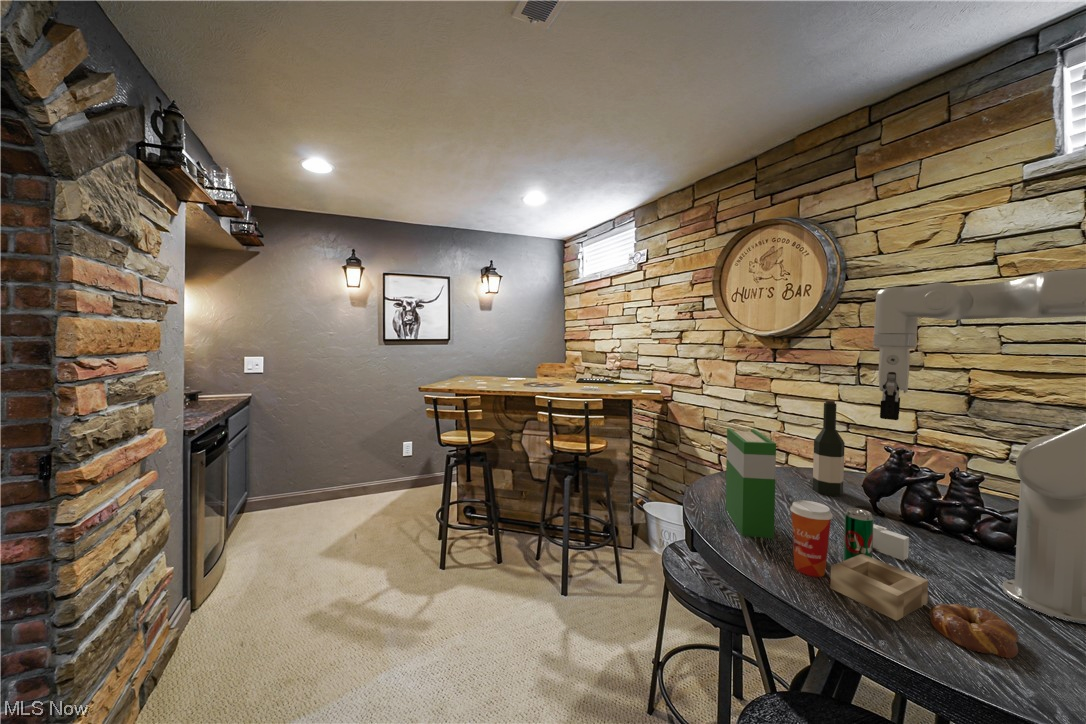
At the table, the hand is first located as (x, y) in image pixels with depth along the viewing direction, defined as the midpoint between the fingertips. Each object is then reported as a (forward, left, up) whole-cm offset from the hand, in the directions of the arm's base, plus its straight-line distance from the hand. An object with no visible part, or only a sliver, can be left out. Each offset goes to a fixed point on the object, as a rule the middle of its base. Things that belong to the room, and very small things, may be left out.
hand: (889, 416), depth 96 cm
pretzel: (-21, +19, -32) cm, 43 cm away
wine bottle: (+29, -30, -32) cm, 53 cm away
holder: (-9, +21, -32) cm, 39 cm away
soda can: (-1, +12, -32) cm, 35 cm away
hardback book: (+25, +15, -32) cm, 43 cm away
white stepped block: (+1, 0, -33) cm, 33 cm away
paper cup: (+3, +24, -32) cm, 40 cm away
